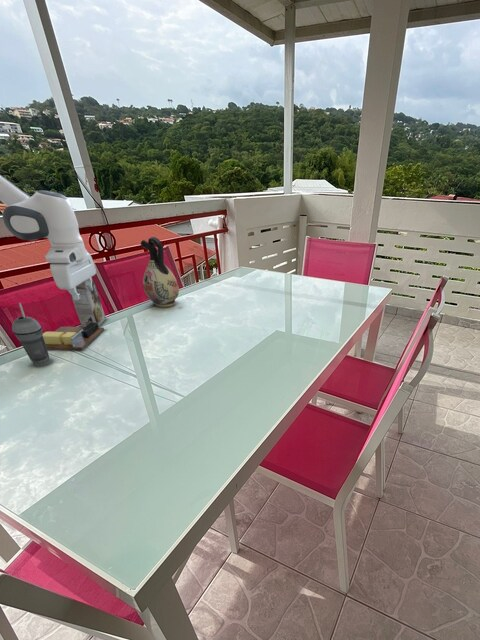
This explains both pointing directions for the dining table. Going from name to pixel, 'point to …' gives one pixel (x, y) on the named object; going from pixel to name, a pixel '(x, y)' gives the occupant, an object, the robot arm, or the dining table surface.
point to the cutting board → (83, 343)
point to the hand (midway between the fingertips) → (83, 295)
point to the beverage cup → (31, 339)
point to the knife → (84, 333)
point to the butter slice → (68, 338)
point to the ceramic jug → (159, 276)
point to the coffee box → (88, 305)
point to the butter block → (53, 337)
